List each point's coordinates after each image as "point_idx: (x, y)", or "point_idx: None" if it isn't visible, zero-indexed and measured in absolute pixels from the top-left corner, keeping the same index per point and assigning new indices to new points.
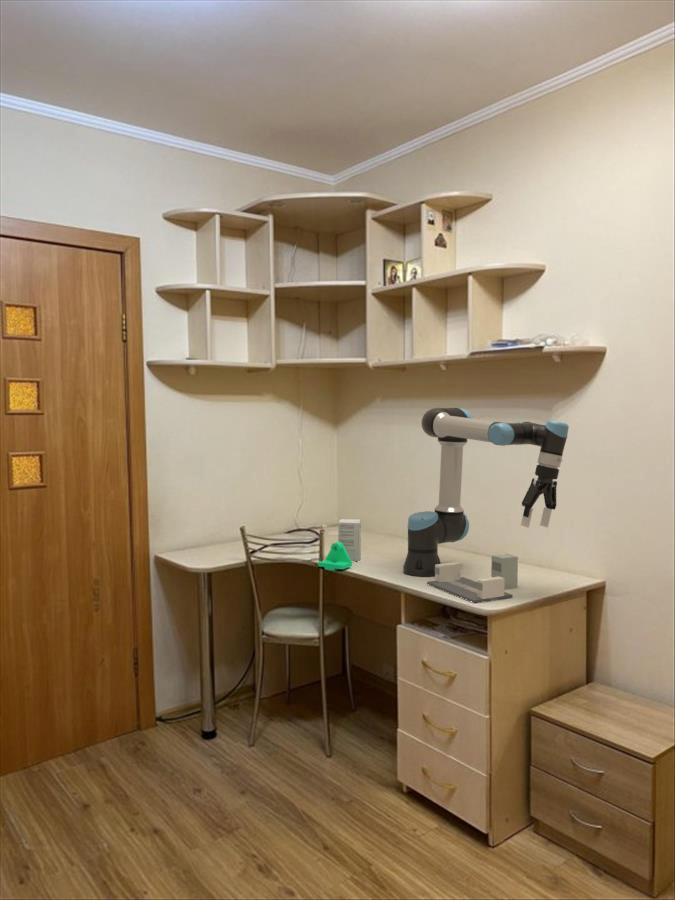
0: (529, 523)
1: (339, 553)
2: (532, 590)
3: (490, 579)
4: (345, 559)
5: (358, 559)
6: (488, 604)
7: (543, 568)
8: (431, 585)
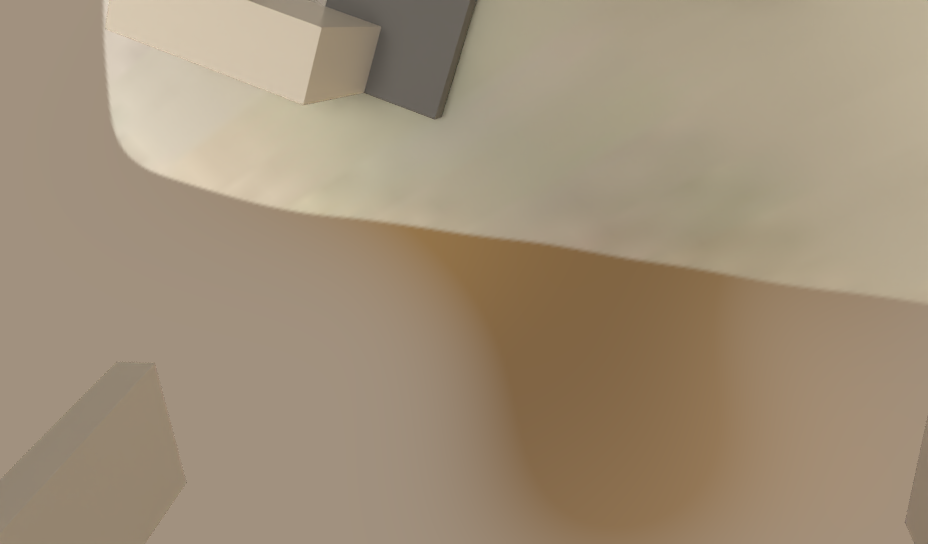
0: (140, 534)
1: None
2: (758, 116)
3: (187, 41)
4: None
5: None
6: (193, 88)
7: None
8: None
